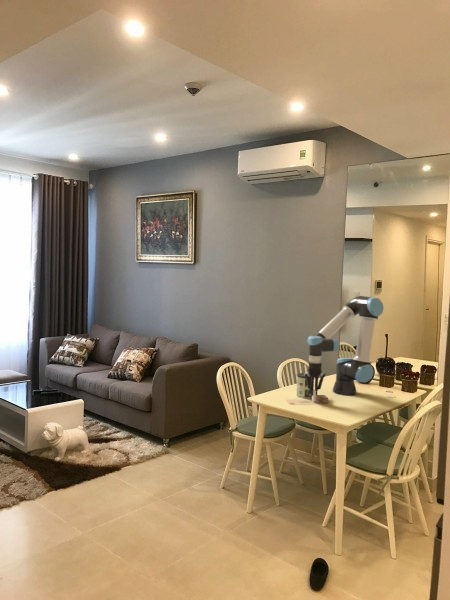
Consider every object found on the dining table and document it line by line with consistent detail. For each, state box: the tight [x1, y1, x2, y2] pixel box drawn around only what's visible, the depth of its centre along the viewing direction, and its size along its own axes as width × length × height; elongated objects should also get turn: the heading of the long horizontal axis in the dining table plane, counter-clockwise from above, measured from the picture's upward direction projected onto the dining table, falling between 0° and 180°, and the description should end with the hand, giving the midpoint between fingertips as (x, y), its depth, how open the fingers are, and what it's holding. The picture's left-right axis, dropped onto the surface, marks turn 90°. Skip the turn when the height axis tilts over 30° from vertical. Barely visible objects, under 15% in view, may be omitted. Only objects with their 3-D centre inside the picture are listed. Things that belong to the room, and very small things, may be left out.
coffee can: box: [295, 372, 312, 399], centre depth 307 cm, size 10×10×14 cm
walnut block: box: [313, 394, 329, 405], centre depth 294 cm, size 7×7×4 cm
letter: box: [285, 399, 317, 406], centre depth 293 cm, size 16×12×1 cm
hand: (313, 400), depth 294 cm, fingers closed
